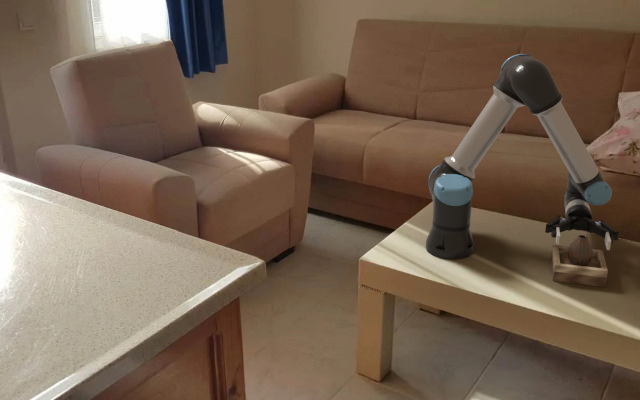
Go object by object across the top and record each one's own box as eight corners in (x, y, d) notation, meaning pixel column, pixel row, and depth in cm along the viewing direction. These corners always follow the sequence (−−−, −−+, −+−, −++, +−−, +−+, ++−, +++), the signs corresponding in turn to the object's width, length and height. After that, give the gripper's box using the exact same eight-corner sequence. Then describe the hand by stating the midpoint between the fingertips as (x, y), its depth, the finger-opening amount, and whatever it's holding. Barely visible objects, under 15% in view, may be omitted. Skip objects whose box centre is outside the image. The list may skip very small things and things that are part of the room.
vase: (596, 266, 181) (600, 239, 178) (577, 270, 179) (581, 243, 176) (579, 256, 187) (583, 230, 184) (560, 260, 185) (564, 233, 182)
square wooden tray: (552, 280, 180) (554, 265, 178) (551, 259, 192) (553, 244, 191) (605, 287, 176) (607, 271, 174) (600, 265, 188) (602, 250, 187)
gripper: (619, 230, 195) (628, 260, 176) (535, 221, 202) (536, 249, 184) (623, 208, 193) (633, 235, 174) (538, 200, 200) (538, 226, 181)
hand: (583, 243), depth 179 cm, fingers open, 13 cm apart
